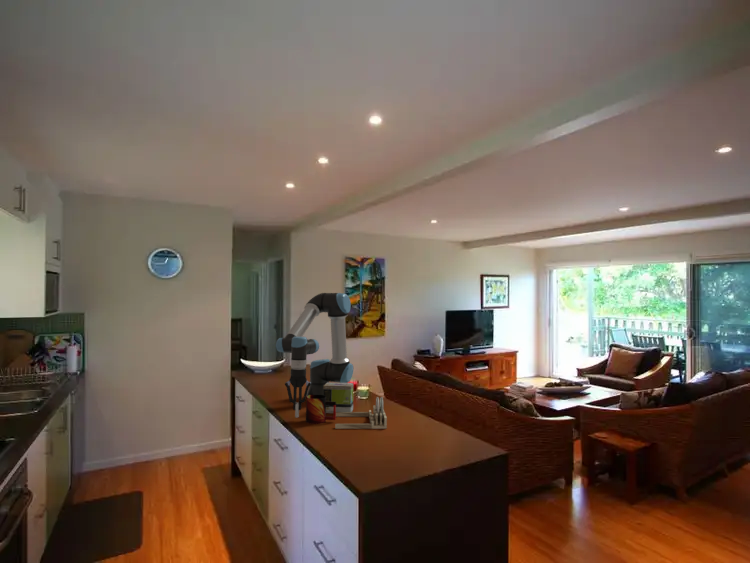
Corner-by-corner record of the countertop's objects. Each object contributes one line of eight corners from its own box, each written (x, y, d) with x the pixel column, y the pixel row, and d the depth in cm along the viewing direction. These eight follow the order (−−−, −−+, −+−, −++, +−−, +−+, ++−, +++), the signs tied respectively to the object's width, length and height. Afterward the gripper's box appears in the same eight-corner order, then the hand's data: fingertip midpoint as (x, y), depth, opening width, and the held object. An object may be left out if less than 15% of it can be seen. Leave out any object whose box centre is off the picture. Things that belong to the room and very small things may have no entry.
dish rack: (335, 416, 217) (336, 392, 218) (382, 416, 219) (382, 392, 219) (335, 428, 195) (335, 402, 196) (386, 428, 197) (387, 402, 197)
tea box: (353, 410, 230) (354, 382, 231) (350, 414, 220) (351, 386, 221) (326, 408, 232) (327, 381, 233) (322, 413, 222) (323, 385, 223)
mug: (336, 422, 205) (336, 397, 206) (308, 424, 200) (308, 399, 201) (330, 417, 214) (331, 393, 215) (304, 419, 209) (304, 395, 210)
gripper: (284, 369, 204) (282, 418, 202) (311, 369, 205) (309, 418, 203) (286, 367, 211) (284, 414, 210) (312, 367, 212) (310, 414, 211)
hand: (296, 416), depth 207 cm, fingers closed
